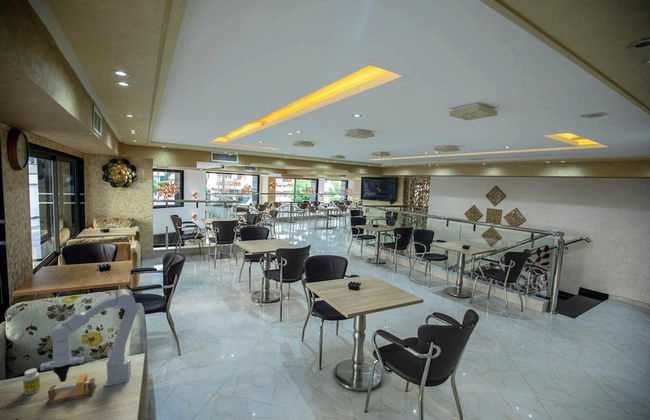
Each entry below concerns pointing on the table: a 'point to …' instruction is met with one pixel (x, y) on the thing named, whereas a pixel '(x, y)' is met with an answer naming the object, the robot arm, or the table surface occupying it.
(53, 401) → the stand
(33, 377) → the supplement bottle
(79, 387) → the collar
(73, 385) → the rod
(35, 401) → the table surface
